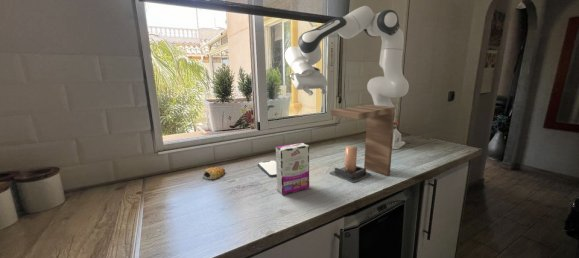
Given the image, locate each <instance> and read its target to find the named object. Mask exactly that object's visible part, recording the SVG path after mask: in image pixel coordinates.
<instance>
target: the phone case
mask: <svg viewBox="0 0 579 258" xmlns="http://www.w3.org/2000/svg"><path fill="white" fill-rule="evenodd" d="M257 167H259V169H260V170H261V171H262V172H264V174H265V175H267V177H269V178H277V171H276V160H268V161H261V162H258V163H257Z"/></svg>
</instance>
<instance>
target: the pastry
mask: <svg viewBox="0 0 579 258" xmlns="http://www.w3.org/2000/svg"><path fill="white" fill-rule="evenodd" d="M225 172H226V170H225V168H223V167H222V166H215V167H213V166H211V167H209V168H207V169H205V170H203V173H202V174H201V175H202V178H203V179H206V180H216V179H218V178H221V177H222V176H224V175H225Z"/></svg>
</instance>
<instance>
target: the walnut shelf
mask: <svg viewBox="0 0 579 258" xmlns="http://www.w3.org/2000/svg"><path fill="white" fill-rule="evenodd" d="M395 108H396V106H395V107H388V106H378V105H374V104H363V105H355V106H349V107H341V108H334V109H330V116H331V117H333V116H334V117H339V118H346V119H351V120H352V119H353V120H364V119H366V127H365V128H366V131H365V146H364V163H363V168H365V169H366V171H370V172H373V173H376V174H379V175H383V176H386V177H388V176H390V175H391V168H392V167H391V166H392V154H393V149H392V143H393V131H394V118H395V119H396V113H395Z"/></svg>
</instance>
